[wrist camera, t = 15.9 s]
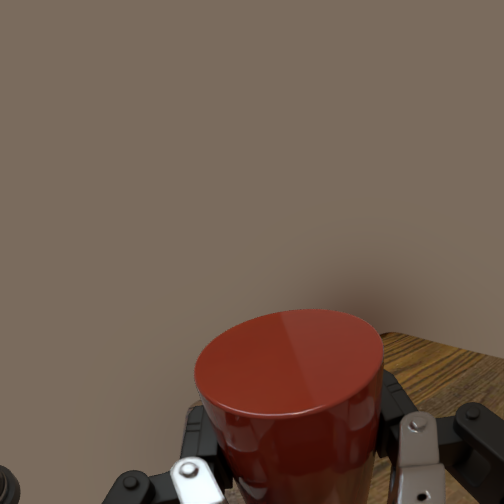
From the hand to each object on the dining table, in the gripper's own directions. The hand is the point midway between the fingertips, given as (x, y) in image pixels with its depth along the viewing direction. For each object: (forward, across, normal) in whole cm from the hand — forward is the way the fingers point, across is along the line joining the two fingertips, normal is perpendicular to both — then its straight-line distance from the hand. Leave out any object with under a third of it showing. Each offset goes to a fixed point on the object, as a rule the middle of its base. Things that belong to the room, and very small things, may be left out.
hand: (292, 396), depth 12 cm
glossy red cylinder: (-3, 0, -6) cm, 7 cm away
